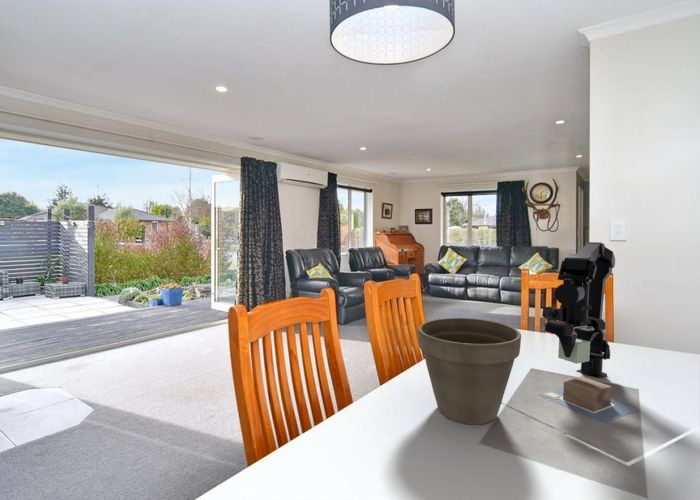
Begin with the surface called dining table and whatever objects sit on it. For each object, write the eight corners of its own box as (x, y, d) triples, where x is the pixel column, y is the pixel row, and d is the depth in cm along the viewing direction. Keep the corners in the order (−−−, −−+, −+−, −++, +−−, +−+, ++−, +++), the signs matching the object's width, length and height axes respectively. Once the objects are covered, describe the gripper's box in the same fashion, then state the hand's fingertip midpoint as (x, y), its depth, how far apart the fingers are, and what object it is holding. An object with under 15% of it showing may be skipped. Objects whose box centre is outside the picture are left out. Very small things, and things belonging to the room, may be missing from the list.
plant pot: (446, 443, 87) (448, 346, 85) (402, 396, 110) (403, 320, 109) (541, 428, 93) (544, 338, 92) (480, 387, 117) (482, 315, 116)
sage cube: (570, 355, 115) (571, 336, 115) (589, 360, 110) (590, 341, 110) (558, 357, 113) (559, 338, 112) (576, 363, 108) (577, 343, 107)
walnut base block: (580, 393, 112) (581, 376, 112) (610, 404, 105) (611, 386, 105) (563, 399, 108) (563, 381, 108) (592, 411, 101) (593, 392, 101)
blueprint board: (571, 386, 118) (571, 384, 118) (638, 411, 102) (638, 408, 102) (538, 396, 111) (538, 394, 111) (605, 425, 95) (605, 422, 95)
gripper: (570, 294, 122) (568, 344, 123) (528, 298, 113) (526, 351, 114) (607, 300, 112) (605, 354, 113) (565, 305, 104) (562, 363, 104)
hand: (574, 355), depth 111 cm, fingers closed on sage cube, 5 cm apart
